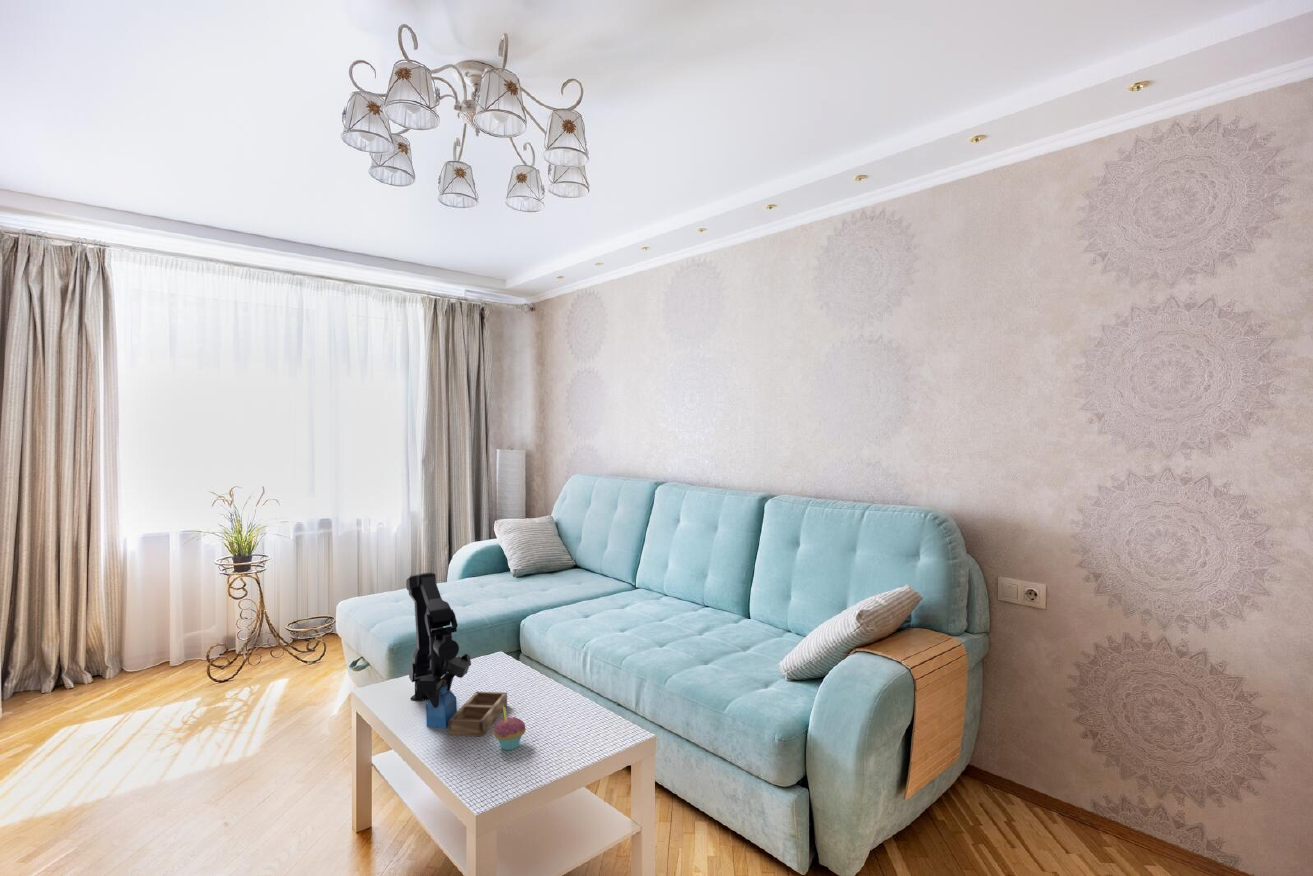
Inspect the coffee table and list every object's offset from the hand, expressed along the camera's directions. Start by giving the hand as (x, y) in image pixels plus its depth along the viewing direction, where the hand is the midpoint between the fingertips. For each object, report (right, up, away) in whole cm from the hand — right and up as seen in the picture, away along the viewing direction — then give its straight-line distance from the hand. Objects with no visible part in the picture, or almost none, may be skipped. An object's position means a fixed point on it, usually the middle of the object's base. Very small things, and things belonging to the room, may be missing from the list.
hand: (441, 702), depth 181 cm
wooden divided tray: (+11, -6, +2) cm, 12 cm away
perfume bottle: (0, -6, 0) cm, 6 cm away
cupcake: (+24, -6, -14) cm, 28 cm away
